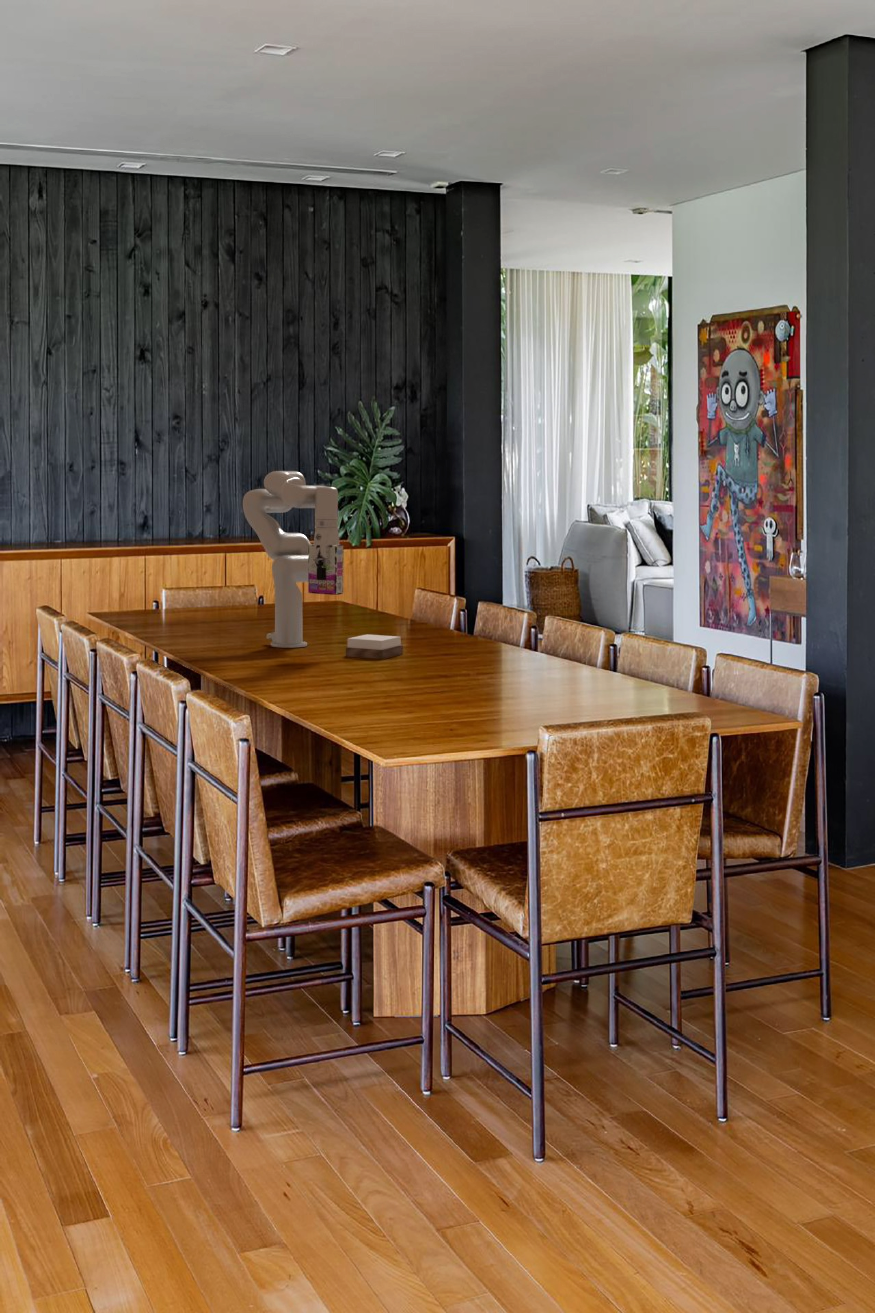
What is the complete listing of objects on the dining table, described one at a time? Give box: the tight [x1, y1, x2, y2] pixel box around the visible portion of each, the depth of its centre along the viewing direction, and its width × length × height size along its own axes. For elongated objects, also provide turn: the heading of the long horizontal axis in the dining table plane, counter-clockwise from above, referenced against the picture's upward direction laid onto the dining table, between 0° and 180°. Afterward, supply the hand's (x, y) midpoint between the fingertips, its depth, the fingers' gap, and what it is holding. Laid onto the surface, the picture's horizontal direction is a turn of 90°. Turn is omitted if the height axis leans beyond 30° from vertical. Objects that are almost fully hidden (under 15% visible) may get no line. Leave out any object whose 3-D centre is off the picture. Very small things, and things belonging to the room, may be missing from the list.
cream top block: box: [347, 633, 402, 650], centre depth 472 cm, size 13×13×3 cm
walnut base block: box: [345, 645, 404, 660], centre depth 472 cm, size 14×14×4 cm
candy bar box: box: [307, 543, 344, 596], centre depth 470 cm, size 11×5×16 cm, turn 62°
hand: (325, 578), depth 471 cm, fingers closed on candy bar box, 5 cm apart
